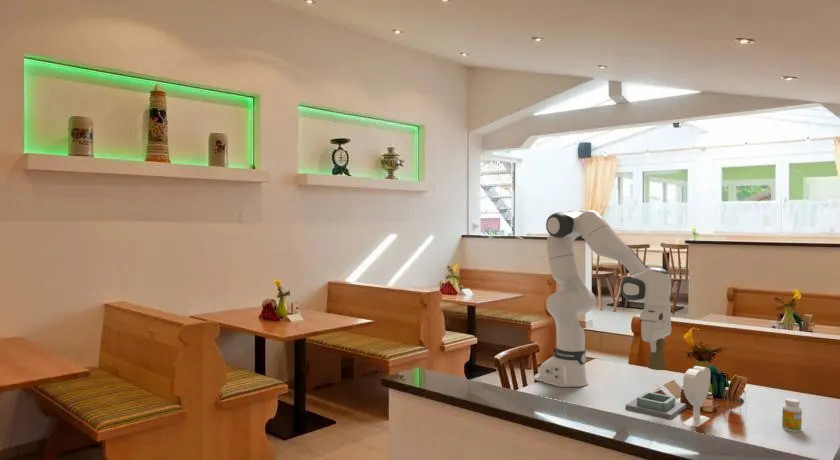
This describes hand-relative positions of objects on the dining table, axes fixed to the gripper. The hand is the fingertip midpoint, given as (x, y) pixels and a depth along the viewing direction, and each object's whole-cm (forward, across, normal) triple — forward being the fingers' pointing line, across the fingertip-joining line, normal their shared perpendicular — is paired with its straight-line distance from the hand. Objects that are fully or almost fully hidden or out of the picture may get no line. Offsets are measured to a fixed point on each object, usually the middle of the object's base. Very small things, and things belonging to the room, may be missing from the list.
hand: (656, 350), depth 217 cm
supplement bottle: (+21, -9, +41) cm, 47 cm away
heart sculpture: (+21, +4, +15) cm, 26 cm away
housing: (+21, 0, 0) cm, 21 cm away
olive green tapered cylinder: (+7, 0, 0) cm, 7 cm away
